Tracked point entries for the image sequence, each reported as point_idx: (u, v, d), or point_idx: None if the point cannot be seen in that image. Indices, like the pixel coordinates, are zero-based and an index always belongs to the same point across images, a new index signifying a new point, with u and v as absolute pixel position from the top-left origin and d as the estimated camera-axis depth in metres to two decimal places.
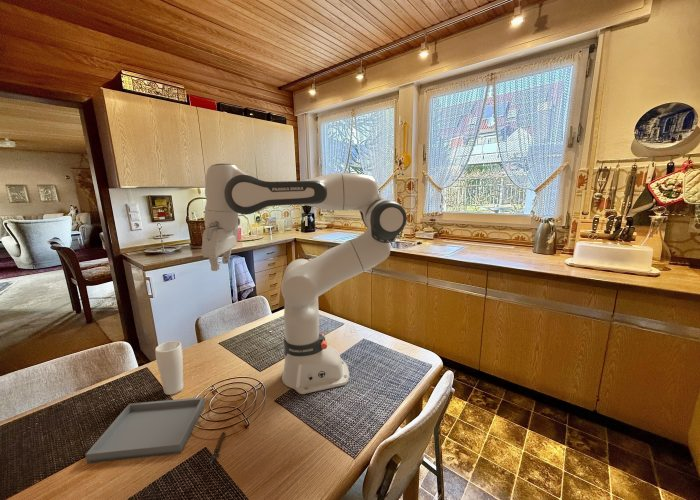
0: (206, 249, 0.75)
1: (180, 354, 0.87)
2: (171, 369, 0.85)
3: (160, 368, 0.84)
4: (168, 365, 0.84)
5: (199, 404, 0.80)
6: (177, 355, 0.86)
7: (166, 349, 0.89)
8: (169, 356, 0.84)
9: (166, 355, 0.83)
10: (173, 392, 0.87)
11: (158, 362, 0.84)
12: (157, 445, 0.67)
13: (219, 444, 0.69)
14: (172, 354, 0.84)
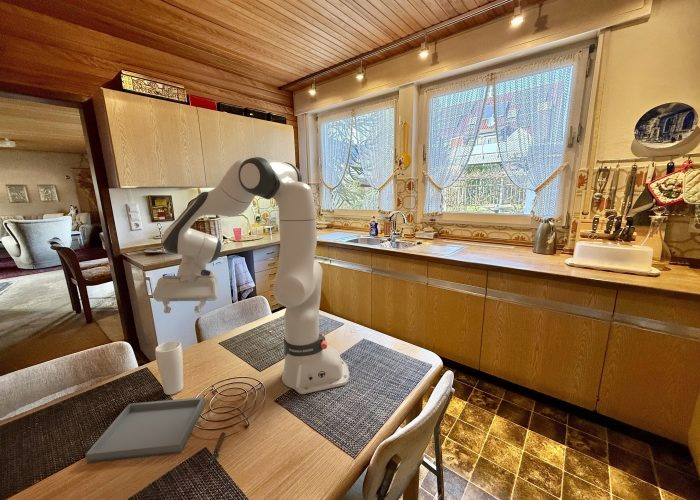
0: None
1: (180, 354, 0.87)
2: (171, 369, 0.85)
3: (160, 368, 0.84)
4: (168, 365, 0.84)
5: (199, 404, 0.80)
6: (177, 355, 0.86)
7: (166, 349, 0.89)
8: (169, 356, 0.84)
9: (166, 355, 0.83)
10: (173, 392, 0.87)
11: (158, 362, 0.84)
12: (157, 445, 0.67)
13: (219, 444, 0.69)
14: (171, 354, 0.84)
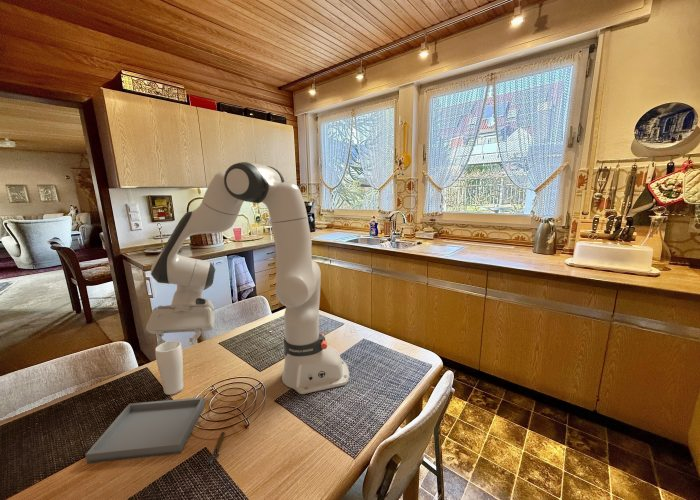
0: None
1: (180, 354, 0.87)
2: (171, 369, 0.85)
3: (160, 368, 0.84)
4: (168, 365, 0.84)
5: (199, 404, 0.80)
6: (177, 355, 0.86)
7: (166, 349, 0.89)
8: (169, 356, 0.84)
9: (166, 355, 0.83)
10: (173, 392, 0.87)
11: (158, 362, 0.84)
12: (157, 445, 0.67)
13: (219, 444, 0.69)
14: (172, 354, 0.84)
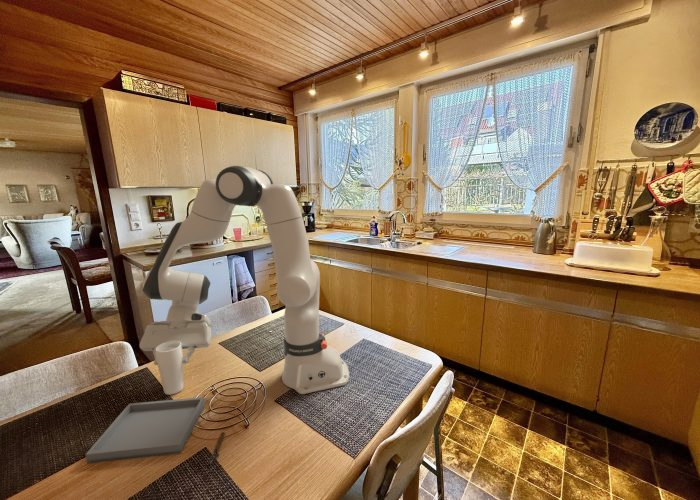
0: None
1: (180, 354, 0.87)
2: (171, 369, 0.85)
3: (160, 368, 0.84)
4: (168, 365, 0.84)
5: (199, 404, 0.80)
6: (177, 355, 0.86)
7: (166, 349, 0.89)
8: (169, 356, 0.84)
9: (166, 355, 0.83)
10: (173, 392, 0.87)
11: (158, 362, 0.84)
12: (157, 445, 0.67)
13: (219, 444, 0.69)
14: (172, 354, 0.84)
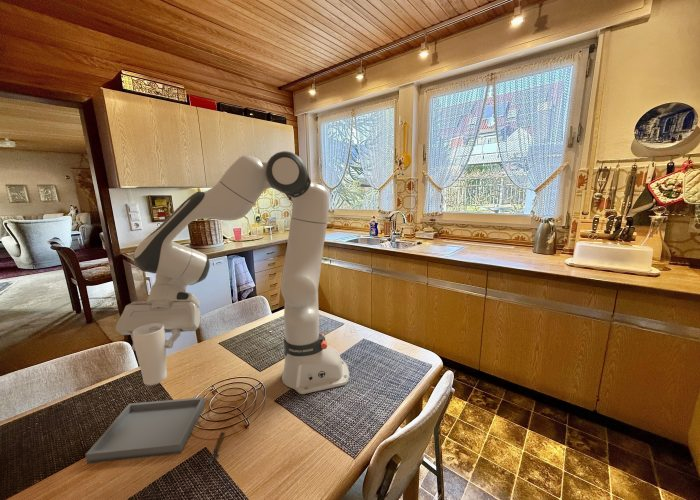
0: None
1: (162, 338, 0.74)
2: (151, 355, 0.72)
3: (138, 354, 0.72)
4: (147, 351, 0.72)
5: (199, 404, 0.80)
6: (159, 339, 0.73)
7: (147, 332, 0.76)
8: (148, 340, 0.71)
9: (145, 338, 0.71)
10: (154, 382, 0.74)
11: (136, 347, 0.71)
12: (157, 445, 0.67)
13: (218, 444, 0.69)
14: (152, 338, 0.72)
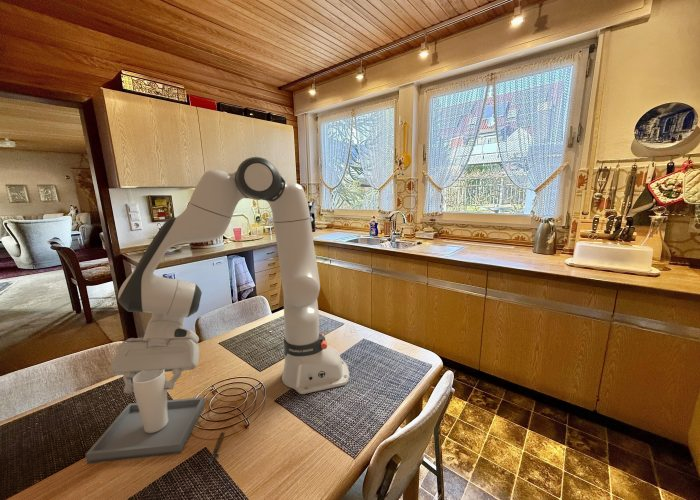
0: None
1: (163, 384, 0.72)
2: (151, 403, 0.70)
3: (138, 402, 0.69)
4: (148, 398, 0.69)
5: (199, 404, 0.80)
6: (159, 386, 0.71)
7: (147, 377, 0.74)
8: (148, 388, 0.69)
9: (145, 386, 0.69)
10: (154, 430, 0.72)
11: (136, 395, 0.69)
12: (157, 445, 0.67)
13: (218, 444, 0.69)
14: (152, 385, 0.69)
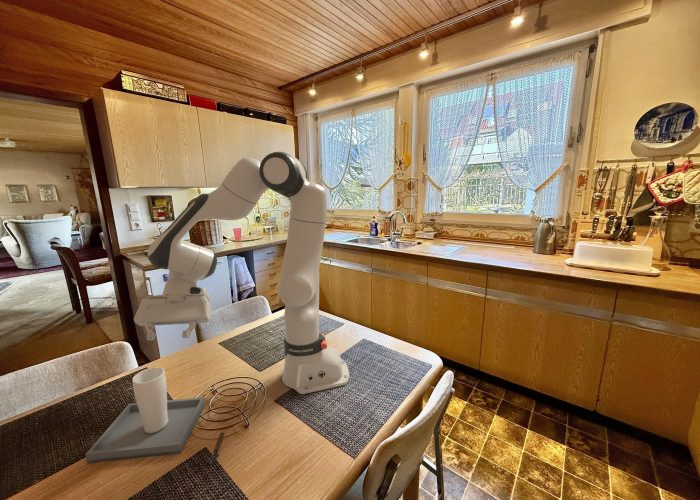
0: None
1: (163, 384, 0.72)
2: (151, 403, 0.70)
3: (138, 402, 0.69)
4: (147, 399, 0.69)
5: (199, 404, 0.80)
6: (159, 386, 0.71)
7: (147, 377, 0.74)
8: (148, 388, 0.69)
9: (145, 387, 0.68)
10: (154, 430, 0.72)
11: (135, 395, 0.69)
12: (157, 445, 0.67)
13: (218, 444, 0.69)
14: (152, 385, 0.69)
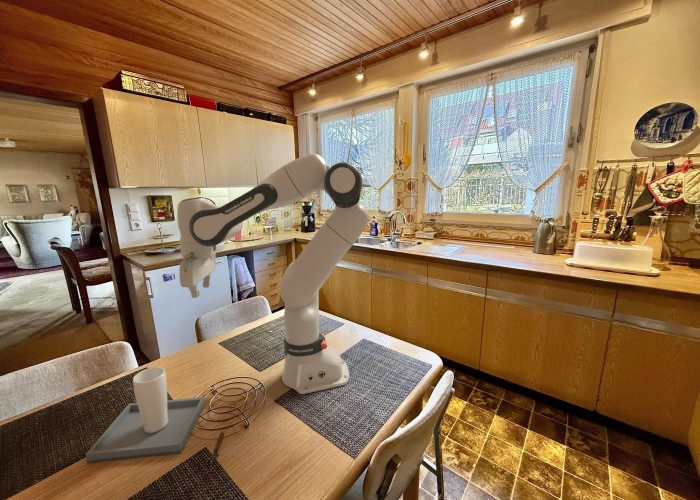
0: (184, 280, 0.81)
1: (163, 384, 0.72)
2: (152, 403, 0.70)
3: (138, 402, 0.69)
4: (148, 399, 0.69)
5: (199, 404, 0.80)
6: (159, 386, 0.71)
7: (148, 377, 0.74)
8: (148, 388, 0.69)
9: (145, 386, 0.68)
10: (154, 430, 0.72)
11: (136, 395, 0.69)
12: (157, 445, 0.67)
13: (218, 444, 0.69)
14: (152, 385, 0.69)
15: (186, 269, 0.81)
